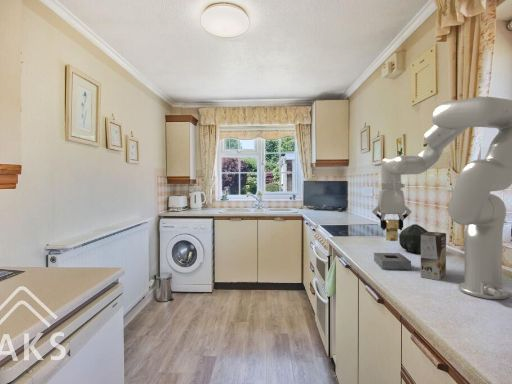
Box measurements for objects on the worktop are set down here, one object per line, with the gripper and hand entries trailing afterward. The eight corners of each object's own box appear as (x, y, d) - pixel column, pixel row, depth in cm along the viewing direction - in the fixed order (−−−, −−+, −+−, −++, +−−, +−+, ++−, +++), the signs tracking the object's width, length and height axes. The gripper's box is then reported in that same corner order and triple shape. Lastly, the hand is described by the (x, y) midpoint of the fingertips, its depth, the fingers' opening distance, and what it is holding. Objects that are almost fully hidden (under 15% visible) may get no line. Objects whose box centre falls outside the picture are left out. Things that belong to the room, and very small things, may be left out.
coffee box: (439, 280, 107) (439, 236, 106) (420, 277, 111) (420, 234, 111) (446, 274, 113) (446, 232, 113) (427, 271, 118) (427, 231, 117)
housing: (411, 270, 120) (411, 261, 120) (382, 269, 122) (382, 260, 121) (399, 260, 134) (399, 253, 134) (373, 260, 135) (373, 252, 135)
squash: (418, 236, 160) (404, 217, 157) (443, 243, 146) (429, 221, 142) (402, 256, 158) (387, 236, 154) (426, 264, 144) (411, 243, 140)
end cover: (401, 241, 123) (401, 221, 123) (386, 241, 125) (385, 221, 124) (397, 238, 129) (397, 219, 129) (382, 238, 131) (382, 219, 130)
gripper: (410, 186, 128) (411, 228, 129) (368, 187, 132) (368, 228, 132) (416, 186, 121) (416, 231, 121) (371, 187, 125) (371, 230, 125)
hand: (391, 229), depth 127 cm, fingers closed on end cover, 6 cm apart
